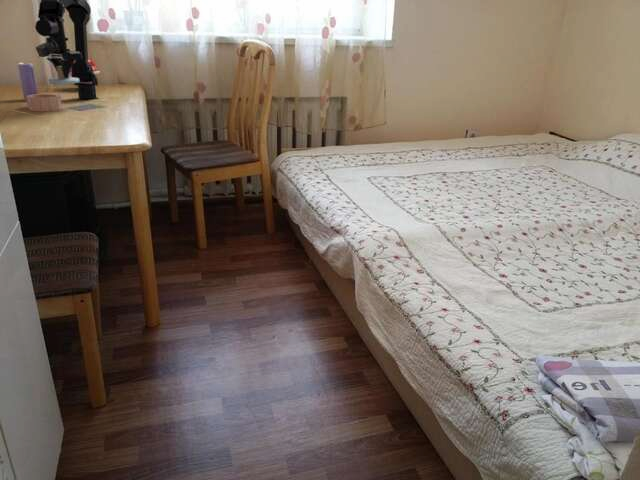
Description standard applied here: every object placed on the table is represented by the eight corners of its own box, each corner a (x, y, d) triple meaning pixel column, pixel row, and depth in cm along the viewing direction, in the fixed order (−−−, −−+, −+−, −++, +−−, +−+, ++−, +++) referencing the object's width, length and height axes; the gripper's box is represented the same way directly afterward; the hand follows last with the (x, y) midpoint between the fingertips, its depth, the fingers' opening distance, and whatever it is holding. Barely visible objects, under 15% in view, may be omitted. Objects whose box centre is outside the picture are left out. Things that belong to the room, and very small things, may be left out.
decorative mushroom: (70, 88, 259) (65, 55, 252) (101, 87, 264) (96, 55, 258) (71, 92, 247) (66, 58, 241) (103, 91, 253) (99, 58, 246)
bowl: (50, 105, 218) (48, 92, 216) (68, 108, 213) (66, 95, 210) (22, 109, 209) (19, 96, 207) (40, 113, 203) (38, 99, 201)
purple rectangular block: (33, 101, 224) (26, 64, 218) (21, 100, 225) (13, 63, 219) (43, 99, 229) (36, 63, 223) (30, 98, 231) (24, 62, 224)
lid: (67, 79, 215) (65, 64, 213) (85, 82, 210) (83, 66, 208) (42, 82, 207) (40, 66, 204) (61, 85, 202) (58, 68, 199)
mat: (90, 104, 222) (90, 103, 221) (106, 107, 217) (106, 106, 217) (64, 108, 212) (64, 107, 212) (80, 111, 208) (80, 110, 207)
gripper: (21, 34, 199) (29, 77, 206) (53, 37, 191) (60, 81, 197) (48, 33, 208) (55, 74, 214) (80, 36, 200) (86, 78, 206)
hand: (63, 77), depth 208 cm, fingers closed on lid, 3 cm apart
